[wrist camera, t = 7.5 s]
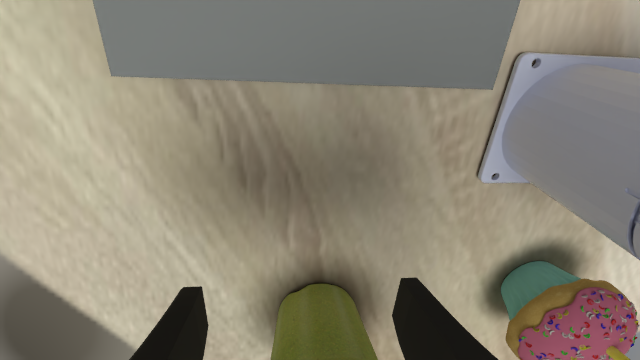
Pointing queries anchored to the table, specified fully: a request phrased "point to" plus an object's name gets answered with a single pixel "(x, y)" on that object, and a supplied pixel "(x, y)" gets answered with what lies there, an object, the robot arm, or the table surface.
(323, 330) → the plant pot
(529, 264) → the cupcake
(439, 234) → the table surface
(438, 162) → the table surface
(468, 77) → the mat
